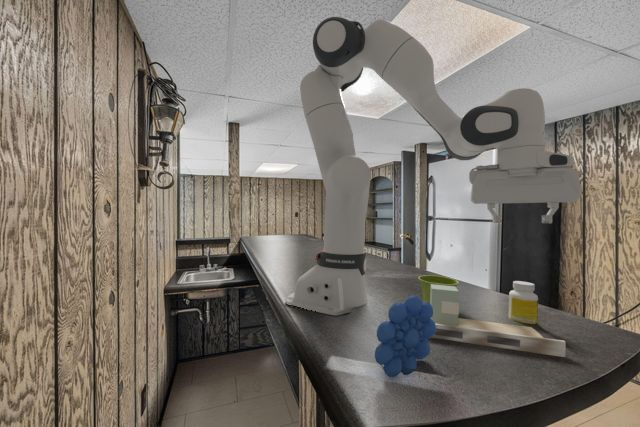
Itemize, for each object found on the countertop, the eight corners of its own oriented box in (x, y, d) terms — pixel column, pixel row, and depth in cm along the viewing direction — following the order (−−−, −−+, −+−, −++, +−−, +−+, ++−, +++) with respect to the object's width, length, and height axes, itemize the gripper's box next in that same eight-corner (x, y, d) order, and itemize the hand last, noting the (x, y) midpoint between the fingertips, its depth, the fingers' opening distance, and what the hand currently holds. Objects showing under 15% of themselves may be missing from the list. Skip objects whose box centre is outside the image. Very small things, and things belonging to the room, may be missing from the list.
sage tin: (458, 331, 56) (459, 291, 56) (431, 327, 57) (432, 288, 57) (455, 323, 59) (455, 286, 59) (429, 320, 61) (430, 284, 61)
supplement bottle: (542, 331, 60) (544, 286, 60) (515, 329, 61) (516, 284, 61) (529, 322, 65) (530, 281, 65) (503, 320, 66) (504, 279, 67)
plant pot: (456, 311, 72) (457, 277, 72) (458, 323, 63) (459, 285, 64) (419, 305, 76) (419, 273, 76) (415, 316, 67) (416, 281, 67)
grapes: (413, 353, 49) (415, 286, 49) (445, 373, 43) (447, 296, 43) (358, 367, 44) (360, 292, 44) (386, 392, 38) (388, 305, 38)
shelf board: (424, 344, 53) (425, 323, 53) (421, 319, 65) (421, 302, 65) (565, 366, 46) (565, 342, 46) (531, 334, 59) (532, 315, 59)
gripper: (470, 164, 65) (470, 223, 65) (584, 156, 56) (584, 224, 56) (468, 168, 70) (468, 222, 70) (571, 161, 62) (571, 223, 62)
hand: (521, 223), depth 63 cm, fingers open, 8 cm apart
